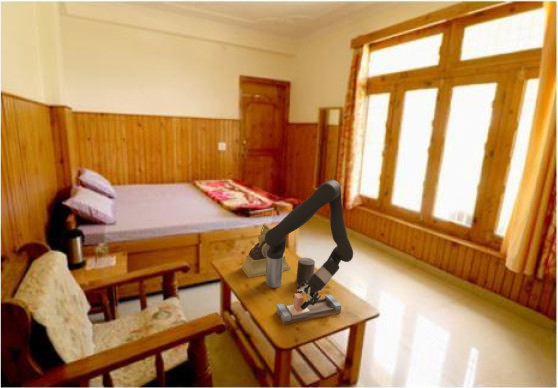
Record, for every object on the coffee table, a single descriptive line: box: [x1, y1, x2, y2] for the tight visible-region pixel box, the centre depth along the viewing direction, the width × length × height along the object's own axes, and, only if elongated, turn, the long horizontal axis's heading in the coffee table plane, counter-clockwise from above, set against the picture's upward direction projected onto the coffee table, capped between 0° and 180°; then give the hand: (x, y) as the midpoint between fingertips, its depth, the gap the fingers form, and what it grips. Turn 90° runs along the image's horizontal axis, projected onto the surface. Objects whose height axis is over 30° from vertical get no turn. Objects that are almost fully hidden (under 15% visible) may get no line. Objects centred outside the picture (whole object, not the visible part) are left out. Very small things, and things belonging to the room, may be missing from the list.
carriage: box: [285, 293, 310, 316], centre depth 140 cm, size 7×9×8 cm
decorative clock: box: [241, 222, 291, 279], centre depth 182 cm, size 28×13×30 cm, turn 117°
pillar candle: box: [295, 256, 316, 286], centre depth 169 cm, size 10×10×15 cm
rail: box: [276, 293, 342, 325], centre depth 143 cm, size 10×30×4 cm, turn 112°
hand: (297, 303), depth 140 cm, fingers open, 8 cm apart
